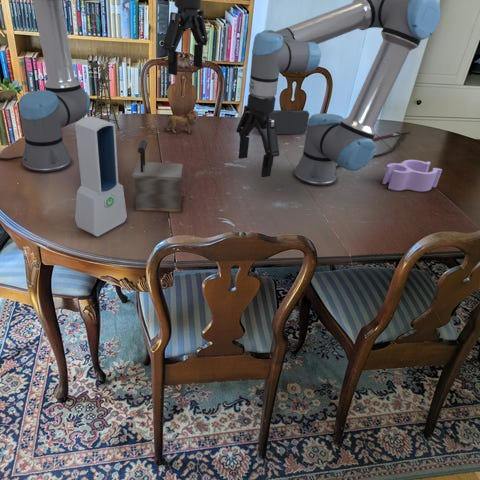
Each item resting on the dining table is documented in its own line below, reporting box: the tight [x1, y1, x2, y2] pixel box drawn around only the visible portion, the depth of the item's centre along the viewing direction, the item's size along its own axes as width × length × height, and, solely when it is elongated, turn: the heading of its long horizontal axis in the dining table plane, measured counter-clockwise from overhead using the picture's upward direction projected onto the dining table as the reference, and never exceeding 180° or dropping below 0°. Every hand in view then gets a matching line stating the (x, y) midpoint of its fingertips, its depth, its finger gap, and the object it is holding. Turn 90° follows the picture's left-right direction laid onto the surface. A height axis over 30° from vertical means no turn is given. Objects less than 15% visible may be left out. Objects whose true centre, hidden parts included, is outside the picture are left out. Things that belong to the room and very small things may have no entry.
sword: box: [373, 131, 411, 142], centre depth 215 cm, size 31×3×1 cm, turn 126°
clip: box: [381, 159, 443, 192], centre depth 171 cm, size 20×12×7 cm, turn 109°
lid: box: [131, 139, 184, 180], centre depth 136 cm, size 14×10×9 cm
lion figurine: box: [163, 109, 199, 134], centre depth 194 cm, size 15×5×9 cm, turn 110°
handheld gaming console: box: [265, 109, 310, 135], centre depth 204 cm, size 23×3×10 cm, turn 108°
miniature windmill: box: [90, 53, 120, 130], centre depth 181 cm, size 9×8×30 cm
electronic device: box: [74, 115, 128, 238], centre depth 122 cm, size 12×8×30 cm, turn 148°
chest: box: [134, 167, 184, 213], centre depth 141 cm, size 13×10×10 cm
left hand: (185, 70), depth 142 cm, fingers open, 13 cm apart
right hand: (253, 166), depth 138 cm, fingers open, 13 cm apart
